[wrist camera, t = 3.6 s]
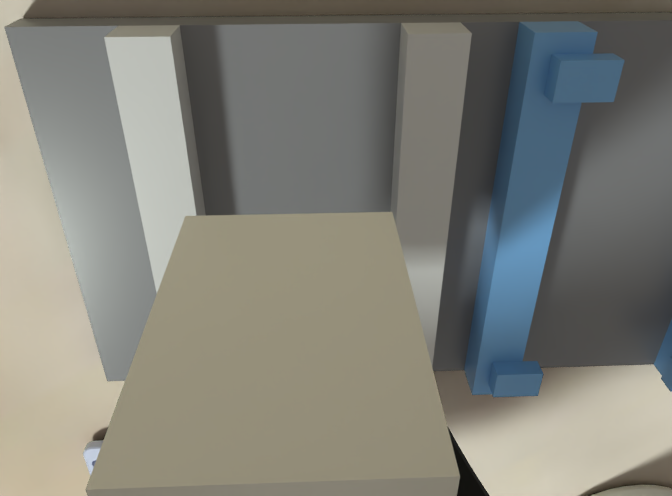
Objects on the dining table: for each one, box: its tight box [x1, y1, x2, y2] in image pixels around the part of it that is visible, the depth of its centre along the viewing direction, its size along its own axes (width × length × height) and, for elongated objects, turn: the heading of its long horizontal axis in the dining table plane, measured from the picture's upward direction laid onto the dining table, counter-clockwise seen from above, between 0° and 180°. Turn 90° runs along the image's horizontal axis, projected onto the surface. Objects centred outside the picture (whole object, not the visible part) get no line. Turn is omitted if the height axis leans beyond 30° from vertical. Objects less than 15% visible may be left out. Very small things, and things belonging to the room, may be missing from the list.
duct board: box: [5, 12, 672, 397], centre depth 18 cm, size 12×24×3 cm, turn 90°
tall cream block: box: [86, 212, 460, 496], centre depth 11 cm, size 7×4×6 cm, turn 0°
